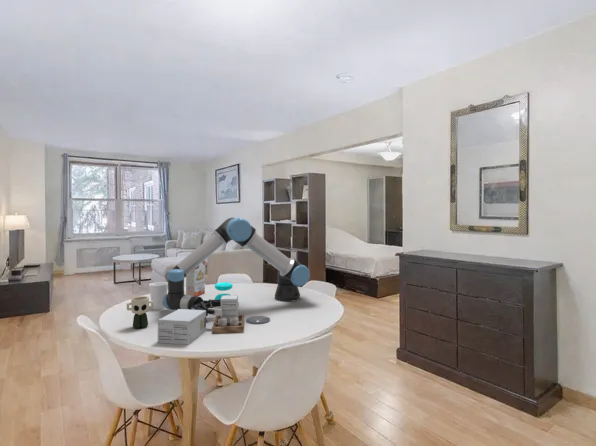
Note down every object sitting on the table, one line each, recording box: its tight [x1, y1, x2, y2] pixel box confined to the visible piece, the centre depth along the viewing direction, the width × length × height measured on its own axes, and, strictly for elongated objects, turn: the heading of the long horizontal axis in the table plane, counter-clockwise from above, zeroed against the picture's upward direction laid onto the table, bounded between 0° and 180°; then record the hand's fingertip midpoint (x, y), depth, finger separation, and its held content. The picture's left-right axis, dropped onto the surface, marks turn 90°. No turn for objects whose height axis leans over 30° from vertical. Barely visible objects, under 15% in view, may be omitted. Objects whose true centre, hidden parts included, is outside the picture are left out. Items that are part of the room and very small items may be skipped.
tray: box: [211, 314, 245, 335], centre depth 161 cm, size 13×18×5 cm
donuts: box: [214, 282, 233, 300], centre depth 208 cm, size 10×10×10 cm
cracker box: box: [185, 260, 206, 297], centre depth 221 cm, size 14×6×21 cm, turn 168°
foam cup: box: [148, 281, 168, 311], centre depth 192 cm, size 10×9×13 cm
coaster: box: [245, 315, 271, 325], centre depth 170 cm, size 11×11×1 cm
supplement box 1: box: [157, 309, 207, 346], centre depth 148 cm, size 17×13×9 cm
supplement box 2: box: [220, 294, 239, 323], centre depth 164 cm, size 7×7×13 cm
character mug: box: [126, 295, 154, 329], centre depth 160 cm, size 11×7×13 cm, turn 114°
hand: (230, 308), depth 163 cm, fingers open, 13 cm apart
